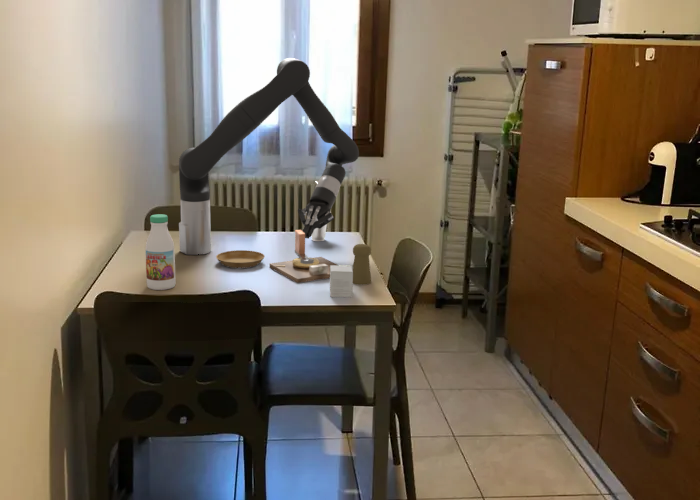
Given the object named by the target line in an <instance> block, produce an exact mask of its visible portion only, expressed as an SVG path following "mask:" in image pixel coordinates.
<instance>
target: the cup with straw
mask: <svg viewBox="0 0 700 500" xmlns="http://www.w3.org/2000/svg"><path fill="white" fill-rule="evenodd" d="M318 181H319V180H315V183H316V185H317V183H318ZM330 213H331V214H332V212H331V209H330ZM320 224H321V223H320ZM327 226H328V224H326V225H325V226H323V227H322V228H320V229H319V228H316V229H314V231H313V233H312V235H311V241H313V242H324V241H326V238H325V237H326V234H327V233H326V232H327Z"/></svg>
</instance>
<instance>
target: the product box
mask: <svg viewBox="0 0 700 500" xmlns="http://www.w3.org/2000/svg"><path fill="white" fill-rule="evenodd" d="M353 285H354V284H353V265H349V264H348V265H346V264H345V265H343V264H341V265H339V264H337V265H331V266H330V278H329V292H330V297H331V298H353Z"/></svg>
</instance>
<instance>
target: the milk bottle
mask: <svg viewBox="0 0 700 500" xmlns="http://www.w3.org/2000/svg"><path fill="white" fill-rule="evenodd" d="M168 219H169V217H168V215H167V214H164V213H163V214H161V213H160V214H159V213H158V214H157V213H156V214H152V215H150V217H149V221H150V225H151V226H150V231H149V234H148V236H147V239H146V243H145V270H146V271H145V272H146V287H147V288H148V289H150V290H153V291H163V290H170V289H173V288H175V286H176V282H177V281H176V261H175V259H176V258H175V257H176V256H175V253H176V252H175V243H174V240H173V238H172V236H171V232H170V231H169V229H168V224H169V223H168V221H169V220H168Z"/></svg>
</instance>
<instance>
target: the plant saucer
mask: <svg viewBox="0 0 700 500" xmlns="http://www.w3.org/2000/svg"><path fill="white" fill-rule="evenodd" d="M215 257H216V260H217V261H218V262H219V263H221V265H223V266H224V267H226V268H230V269H249V268H253V267H257V266H258V265H259V264H261V262H262V261H264V258H265V254H264V253H262V252H261V251H260V252H258V251H255V250H228V251H224V252H223V251H222V252H220V253H218V254H217V255H216V256H215Z"/></svg>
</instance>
